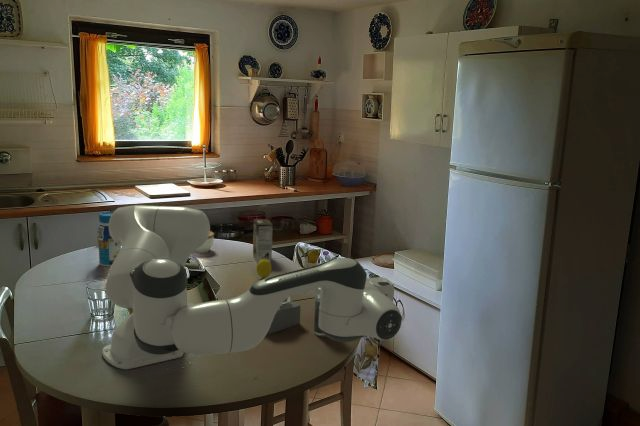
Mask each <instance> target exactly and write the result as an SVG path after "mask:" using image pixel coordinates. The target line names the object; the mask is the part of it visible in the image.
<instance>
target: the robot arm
mask: <svg viewBox="0 0 640 426" xmlns="http://www.w3.org/2000/svg"><path fill="white" fill-rule="evenodd" d="M112 212H113V214H112V215H111V217H110V220H109V232H110V235H111V237H112V239H113V240H114V241H115V242H116V243H118V244H120V245H121V250H120V251H119V253H118V255H117V257H116V258H115V260H114V262H113V264H112V266H110V268H109V271H108V274H107V276H106V277H107V278H106V282H105V288H104V289H105V294H106V296H107V298H108V299H109V300H110V302H111V303H112V304H114V305H115V306H117V307H119V308H123V309H132V313H131V314H130V315H129V316H127V317H126V318H125V320H124V321H122V322H121V323H119V325H118V326H117V327H115V328H114V330H113V333H112V336H111V343H110V344H107V345H105V346H104V347H103V348H102V356H103V358H104V360H105V361H106V362H107V363H109V364H110V365H112V366H113V367H114V368H118V369H121V370H131V369H135V368H139V367H144V366H148V365H153V364H157V363H160V362H165V361H170V360H173V359H178V358H179V359H180V358H181V357H183V355H184V354H191V355H223V354H225V355H226V354H232V353H240V352H245V351H249V350H252V349H254V348H256V347H257V346H258V345H259V344H260V343H261V342H263V340H264V339H265V337H266V336H267V334H268V333H267V332H268V331H269V328H270V326H271V323H272V321H273V319H274V316H275V314H276V312H277V310H278V309H279V307H280V305H281V304H282V303H283V302H284V300H286V299H287V298H288V297H291V296H294V295H297V294H301V293H305V292H309V291H311V292H312V293H311V294H312V297H313V298H314V299H315V300H318V301H319V302H320V306H319V321H318V327H319V329H320V330H321V331H322V332H323V333H324V334H325V335H326V336H327V338H329V339H330V340H332V341H334V342H339V343H350V342H351V343H352V342H355V341H358V340H359V339H360V340H361V339H362V338H364V337H371V338H374V339H377V340H380V341H388V340H391V339H392V338H394V337H395V336H396V335H397V334H398V333H399V331H400V329H401V327H402V321H403V319H402V313H401V311H400V309H399V307H398V306H397V305H396V303H395V302H394V299H395V285H394V283H393V282H391V280H390V279H388V278H386V277H383V276H382V277H381V276H378V277H368V274H367V272H366V270H365V269H364V267H363V266H362V265H361V263H360V262H359V261H358V260H356V259H355V258H349V257H338V258H337V257H336V258H332V259H329V260H328V261H324V262H323V263H319V264H317V265H312V266H308V267H304V268H300V269H296V270H292V271H288V272H283V273H281V274H277V275H276V274H275V275H273V276H268V277H266V278H265V279H263V278H262V279H259V280H257V281H255V282H254V283H253V284H252V285H251V286H250V288H249V289H248V290H247V291H245V292H244V293H242V294H239V295H238V296H235V297H231V298H227V299H217V300H211V301H209V300H208V301H205V302H200V303H193V302H189V301H188V291H187V289H188V288H187V287H188V276H187V272H186V269H185V266H186V264H187V262H188V260H189V258H190V257H191V255H193V253H195V252H194V251H195V250H196V249H197V248H199V247H200V246H202V245H203V244H204V243H205V242H206V240H207V238H208V236H209V233H210V231H211V225H210V224H211V223H210V221H209V217H208V216H207V214H206V213H205V212H204V211H203V210H200V209H196V208H191V207H187V206H169V205H146V204H145V205H144V204H143V205H140V204H134V205H128V206H121V207H117V208H116V209H115V210H114V211H112Z"/></svg>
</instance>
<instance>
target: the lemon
mask: <svg viewBox="0 0 640 426" xmlns="http://www.w3.org/2000/svg"><path fill="white" fill-rule="evenodd" d="M256 273H257V275H258V277H260V278H262V279H265V278H268V277H270V275H271V273H272V262H270V261H269V260H267V259H265V258H263V259H261V260H260V261H259V262H258V263H257V264H256Z"/></svg>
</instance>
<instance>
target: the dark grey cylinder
mask: <svg viewBox="0 0 640 426" xmlns="http://www.w3.org/2000/svg"><path fill="white" fill-rule="evenodd" d="M319 306H320V302H319V301H318V300H316V299H315V302H314V319H313V320H314V321H313V322H314V323H313V334H314V336H317V337H319V338H325V337H327V336H326V335H325V334H324V333H323V332H322V331H321V330H320V329H319V327H318V321H319ZM327 338H328V337H327Z"/></svg>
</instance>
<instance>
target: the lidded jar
mask: <svg viewBox="0 0 640 426" xmlns="http://www.w3.org/2000/svg"><path fill="white" fill-rule="evenodd" d="M214 237H215V233H214V232H213V231H212V230H210V233H209V236H208V238H207V240H206V242H205V243H204V244H203V245H202V246H200V247H199V248H197V249H196V250H195V251H194V252H193V253H197V254H205V253H208V252H209V251H210V250H211V249H212V247H213V246H214V240H215V239H214Z"/></svg>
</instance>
